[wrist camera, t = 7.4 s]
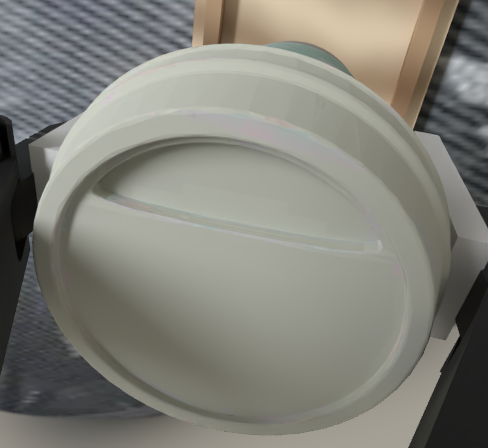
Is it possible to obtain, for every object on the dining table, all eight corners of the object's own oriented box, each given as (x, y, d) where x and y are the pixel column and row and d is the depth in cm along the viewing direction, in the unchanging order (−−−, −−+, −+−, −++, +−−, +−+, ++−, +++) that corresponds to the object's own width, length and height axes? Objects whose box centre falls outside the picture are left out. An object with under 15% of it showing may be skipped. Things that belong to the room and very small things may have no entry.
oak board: (207, -106, 27) (198, -111, 25) (477, -65, 25) (487, -66, 24) (188, 141, 35) (181, 150, 34) (390, 183, 34) (392, 195, 32)
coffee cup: (446, 107, 17) (597, 326, 7) (295, 239, 21) (251, 494, 11) (278, -58, 15) (151, -90, 5) (151, 122, 20) (-54, 295, 10)
